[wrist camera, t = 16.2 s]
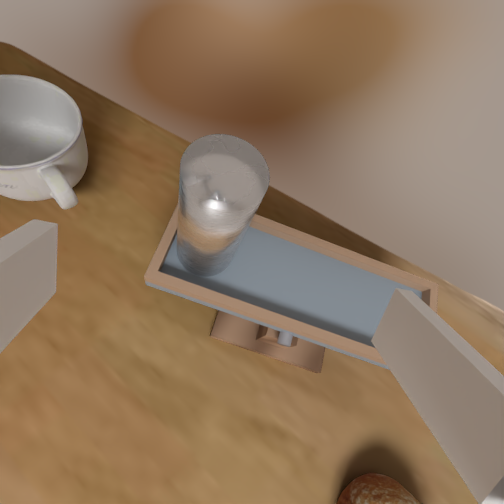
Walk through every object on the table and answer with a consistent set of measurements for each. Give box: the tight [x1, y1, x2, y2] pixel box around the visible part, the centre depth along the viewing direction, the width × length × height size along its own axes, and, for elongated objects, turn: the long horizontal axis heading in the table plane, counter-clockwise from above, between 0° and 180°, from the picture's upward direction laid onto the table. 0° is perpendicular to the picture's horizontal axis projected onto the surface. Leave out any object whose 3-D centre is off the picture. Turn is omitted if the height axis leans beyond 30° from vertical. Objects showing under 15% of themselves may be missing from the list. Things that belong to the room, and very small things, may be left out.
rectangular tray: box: [144, 202, 438, 370], centre depth 30 cm, size 26×11×3 cm, turn 73°
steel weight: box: [177, 134, 270, 277], centre depth 23 cm, size 5×5×12 cm
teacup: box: [0, 75, 88, 209], centre depth 32 cm, size 14×11×8 cm
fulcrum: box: [210, 310, 325, 373], centre depth 34 cm, size 12×12×5 cm
